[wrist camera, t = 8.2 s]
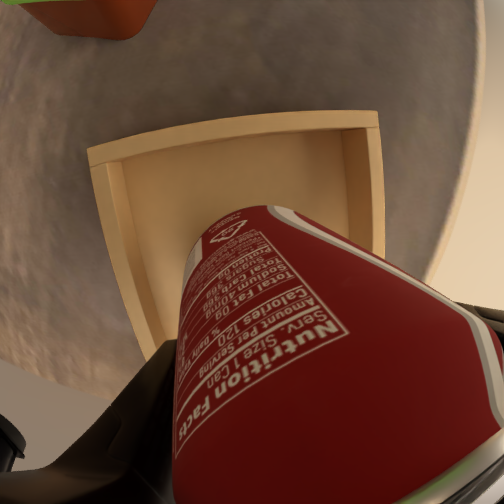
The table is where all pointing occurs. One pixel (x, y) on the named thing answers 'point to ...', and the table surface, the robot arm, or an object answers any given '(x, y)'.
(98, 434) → the robot arm
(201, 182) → the tray
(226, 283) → the soda can
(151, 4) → the planter
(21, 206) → the table surface
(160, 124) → the table surface
